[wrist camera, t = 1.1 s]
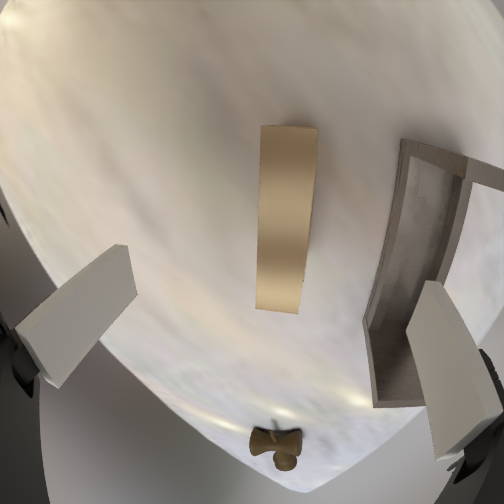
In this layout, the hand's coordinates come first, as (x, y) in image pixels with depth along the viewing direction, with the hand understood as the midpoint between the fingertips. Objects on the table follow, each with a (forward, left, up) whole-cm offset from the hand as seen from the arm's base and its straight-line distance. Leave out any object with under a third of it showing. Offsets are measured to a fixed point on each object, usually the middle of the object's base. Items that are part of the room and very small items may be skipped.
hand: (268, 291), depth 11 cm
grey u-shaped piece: (+4, +13, -16) cm, 21 cm away
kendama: (+49, +3, -16) cm, 52 cm away
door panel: (0, 0, -16) cm, 16 cm away
